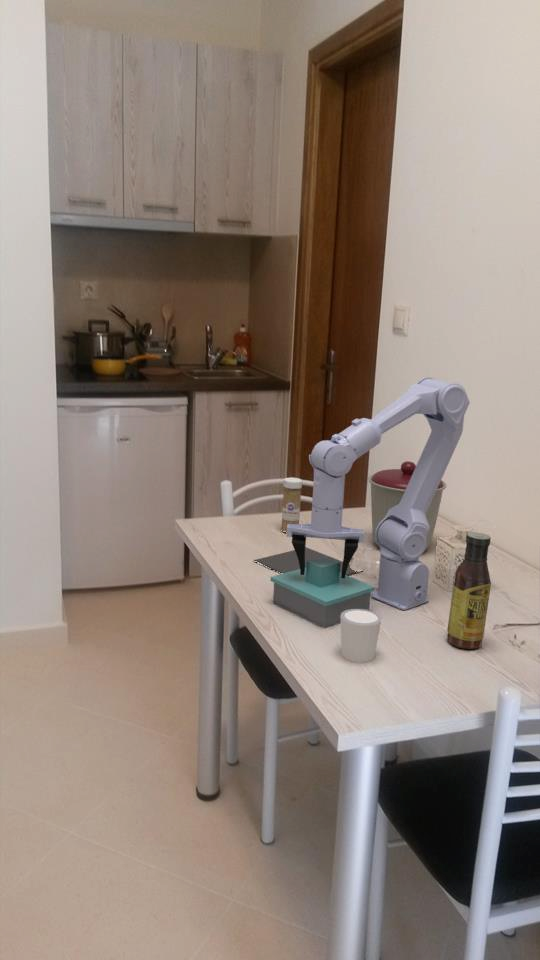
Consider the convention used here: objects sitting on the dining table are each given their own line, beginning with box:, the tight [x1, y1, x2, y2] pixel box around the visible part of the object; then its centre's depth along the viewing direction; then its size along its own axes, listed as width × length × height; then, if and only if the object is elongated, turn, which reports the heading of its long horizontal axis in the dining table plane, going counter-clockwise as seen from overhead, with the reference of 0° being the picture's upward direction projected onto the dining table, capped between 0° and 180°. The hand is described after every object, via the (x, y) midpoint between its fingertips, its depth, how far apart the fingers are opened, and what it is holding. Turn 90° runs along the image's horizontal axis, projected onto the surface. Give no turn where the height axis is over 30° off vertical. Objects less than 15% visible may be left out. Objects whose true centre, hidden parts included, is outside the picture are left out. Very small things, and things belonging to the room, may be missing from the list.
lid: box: [270, 557, 376, 606], centre depth 153 cm, size 15×13×6 cm
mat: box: [253, 546, 357, 576], centre depth 176 cm, size 18×16×1 cm
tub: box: [272, 582, 371, 629], centre depth 154 cm, size 14×12×4 cm
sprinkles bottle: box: [280, 477, 303, 532], centre depth 199 cm, size 5×5×14 cm
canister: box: [367, 460, 447, 552], centre depth 190 cm, size 18×18×21 cm
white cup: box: [340, 609, 383, 664], centre depth 134 cm, size 7×7×7 cm
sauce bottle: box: [446, 531, 492, 650], centre depth 139 cm, size 6×6×20 cm
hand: (322, 574), depth 152 cm, fingers open, 7 cm apart
